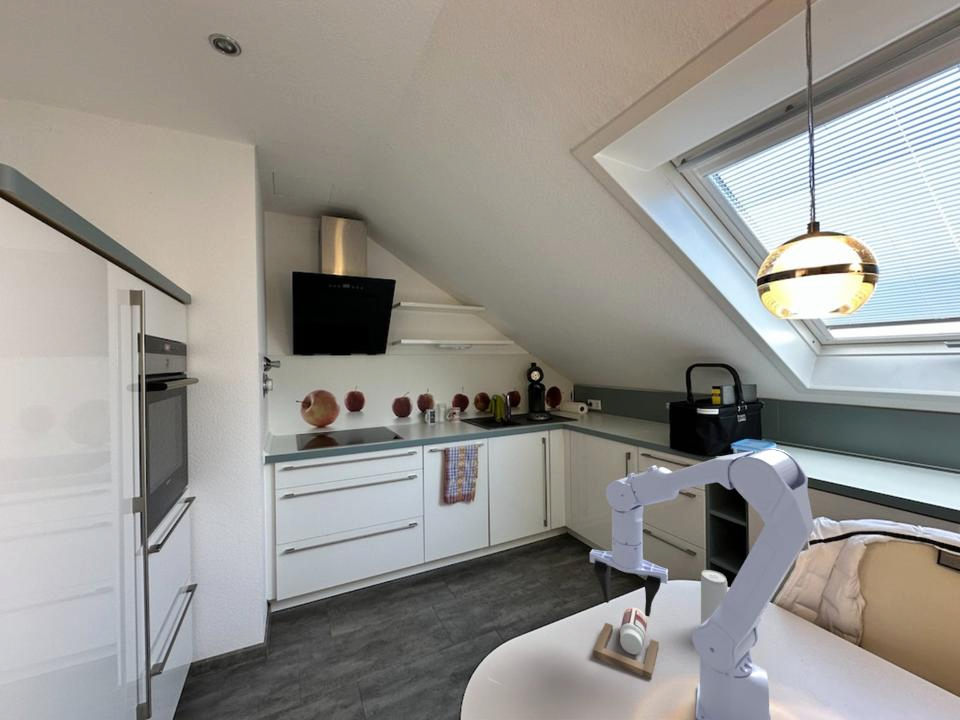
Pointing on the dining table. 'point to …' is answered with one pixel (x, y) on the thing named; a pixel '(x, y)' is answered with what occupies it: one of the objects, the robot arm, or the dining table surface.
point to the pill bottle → (633, 630)
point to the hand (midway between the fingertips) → (627, 606)
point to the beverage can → (711, 592)
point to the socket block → (621, 660)
